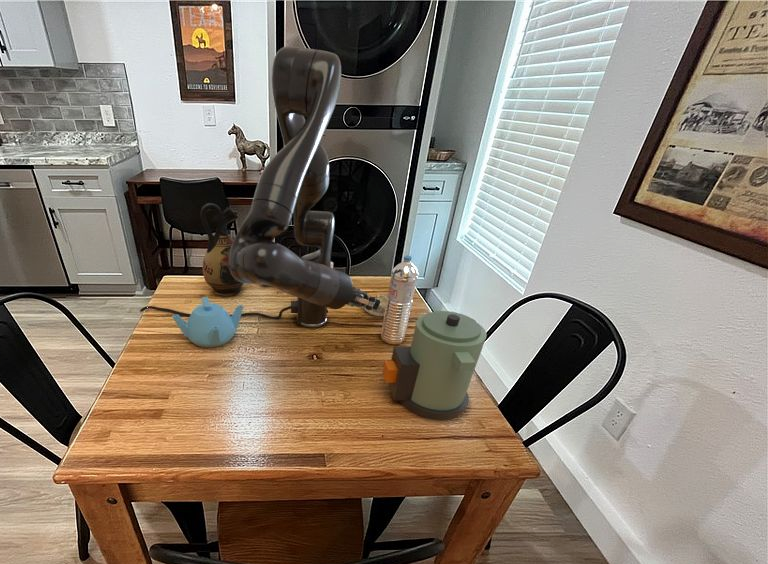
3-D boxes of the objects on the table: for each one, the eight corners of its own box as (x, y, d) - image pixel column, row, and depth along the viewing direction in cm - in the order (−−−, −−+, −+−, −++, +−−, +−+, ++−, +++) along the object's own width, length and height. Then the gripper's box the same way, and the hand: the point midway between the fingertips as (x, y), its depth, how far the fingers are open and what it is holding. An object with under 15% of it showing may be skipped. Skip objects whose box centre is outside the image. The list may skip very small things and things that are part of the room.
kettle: (400, 428, 83) (421, 344, 71) (378, 367, 102) (391, 291, 89) (482, 428, 83) (517, 344, 71) (445, 367, 102) (468, 292, 90)
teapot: (248, 331, 116) (246, 299, 110) (219, 356, 105) (215, 321, 99) (206, 320, 121) (202, 288, 115) (175, 342, 110) (168, 308, 104)
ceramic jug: (243, 280, 147) (239, 197, 130) (252, 297, 135) (248, 208, 118) (198, 284, 143) (187, 199, 126) (203, 302, 131) (191, 211, 114)
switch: (385, 382, 87) (388, 370, 85) (382, 373, 90) (384, 360, 88) (396, 382, 87) (399, 370, 85) (392, 373, 90) (395, 360, 88)
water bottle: (404, 346, 110) (422, 262, 95) (380, 344, 111) (394, 260, 97) (403, 334, 115) (420, 253, 101) (380, 332, 116) (394, 251, 102)
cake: (398, 309, 130) (402, 295, 127) (385, 321, 123) (389, 306, 120) (371, 299, 134) (374, 285, 131) (358, 310, 128) (361, 295, 124)
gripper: (354, 276, 70) (406, 297, 81) (310, 260, 79) (362, 281, 90) (339, 314, 71) (392, 330, 83) (297, 294, 81) (350, 310, 92)
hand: (376, 304), depth 87 cm, fingers closed
